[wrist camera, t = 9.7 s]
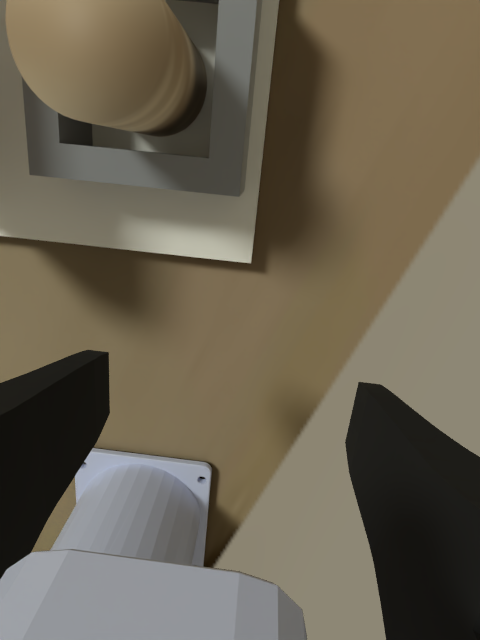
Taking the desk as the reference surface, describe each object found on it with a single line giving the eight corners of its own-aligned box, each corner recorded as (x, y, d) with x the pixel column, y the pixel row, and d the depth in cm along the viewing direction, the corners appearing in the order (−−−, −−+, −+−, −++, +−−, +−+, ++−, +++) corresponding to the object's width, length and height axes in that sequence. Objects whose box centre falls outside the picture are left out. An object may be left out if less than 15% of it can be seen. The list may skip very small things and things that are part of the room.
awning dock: (251, 258, 20) (238, 321, 12) (-34, 227, 21) (-225, 269, 13) (292, -125, 15) (314, -435, 7) (-85, -154, 16) (-451, -476, 8)
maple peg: (200, 144, 18) (157, 134, 11) (106, 128, 18) (8, 108, 11) (213, 32, 16) (173, -55, 10) (110, 15, 16) (1, -83, 10)
